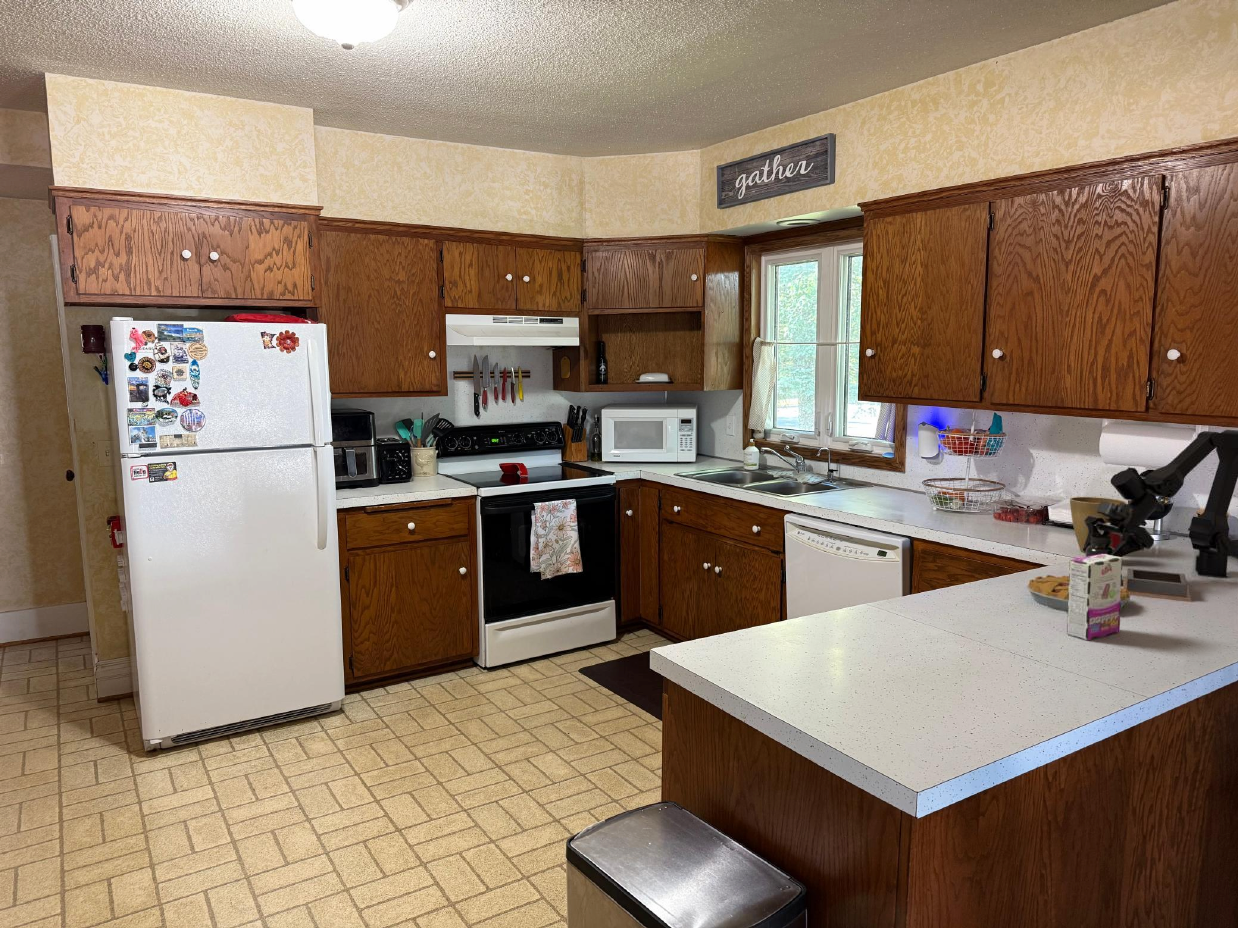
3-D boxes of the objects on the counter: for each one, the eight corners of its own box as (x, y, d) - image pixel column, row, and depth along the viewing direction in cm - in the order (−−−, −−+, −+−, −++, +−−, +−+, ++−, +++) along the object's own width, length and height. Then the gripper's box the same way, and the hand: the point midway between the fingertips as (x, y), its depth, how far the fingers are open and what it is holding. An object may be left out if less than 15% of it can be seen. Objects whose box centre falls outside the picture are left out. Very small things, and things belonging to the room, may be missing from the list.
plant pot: (1127, 559, 247) (1130, 505, 245) (1070, 555, 253) (1072, 502, 251) (1118, 549, 261) (1121, 497, 259) (1064, 545, 266) (1067, 495, 265)
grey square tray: (1187, 588, 215) (1188, 573, 215) (1190, 601, 203) (1192, 586, 203) (1123, 581, 222) (1124, 567, 222) (1123, 593, 210) (1124, 578, 210)
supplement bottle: (1078, 578, 226) (1080, 534, 224) (1102, 577, 226) (1105, 533, 225) (1094, 585, 219) (1097, 539, 217) (1119, 584, 219) (1122, 538, 218)
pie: (1013, 604, 203) (1014, 584, 202) (1042, 586, 218) (1043, 567, 218) (1116, 622, 188) (1118, 600, 187) (1139, 602, 204) (1141, 581, 203)
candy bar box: (1097, 626, 185) (1102, 552, 183) (1120, 633, 180) (1125, 557, 178) (1064, 634, 179) (1068, 558, 178) (1086, 641, 175) (1091, 563, 173)
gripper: (1092, 485, 230) (1054, 527, 229) (1147, 496, 211) (1106, 541, 211) (1115, 513, 232) (1077, 554, 231) (1172, 526, 214) (1131, 571, 213)
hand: (1096, 554), depth 221 cm, fingers open, 9 cm apart
